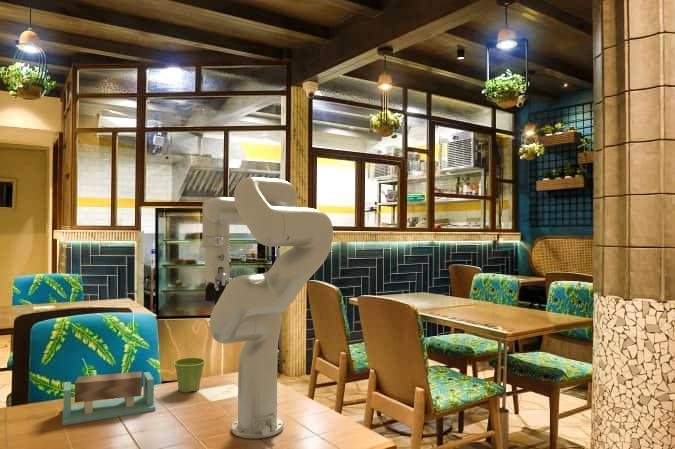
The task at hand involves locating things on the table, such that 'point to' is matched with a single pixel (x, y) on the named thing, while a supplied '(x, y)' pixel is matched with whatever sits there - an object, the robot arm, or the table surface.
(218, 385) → the table surface
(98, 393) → the brown wooden block
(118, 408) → the peg stand
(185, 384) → the plant pot
